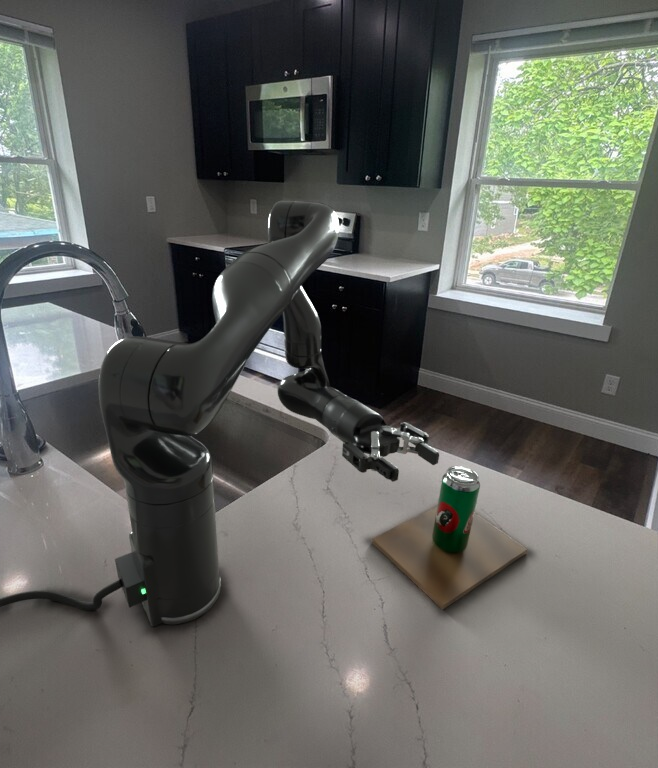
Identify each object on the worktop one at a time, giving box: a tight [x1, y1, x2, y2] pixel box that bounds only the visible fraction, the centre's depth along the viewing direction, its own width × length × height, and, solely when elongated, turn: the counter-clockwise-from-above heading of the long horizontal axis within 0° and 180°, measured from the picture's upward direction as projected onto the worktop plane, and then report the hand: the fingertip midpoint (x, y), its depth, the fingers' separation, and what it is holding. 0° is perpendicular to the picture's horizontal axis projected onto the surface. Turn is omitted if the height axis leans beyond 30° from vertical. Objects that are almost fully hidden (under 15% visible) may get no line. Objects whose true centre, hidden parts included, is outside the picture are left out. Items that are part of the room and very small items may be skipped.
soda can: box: [432, 465, 481, 553], centre depth 66 cm, size 5×5×12 cm
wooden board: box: [371, 506, 528, 611], centre depth 68 cm, size 18×14×1 cm
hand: (417, 467), depth 71 cm, fingers open, 8 cm apart
